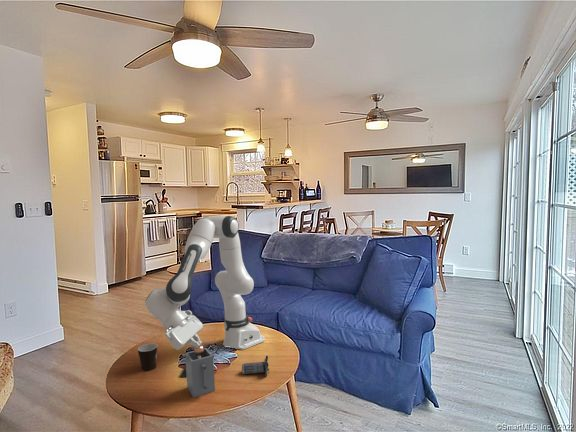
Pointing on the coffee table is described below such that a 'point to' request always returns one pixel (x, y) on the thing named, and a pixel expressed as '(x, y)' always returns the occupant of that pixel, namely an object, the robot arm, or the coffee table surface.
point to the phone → (183, 373)
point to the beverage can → (256, 367)
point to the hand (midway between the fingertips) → (199, 345)
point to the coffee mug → (148, 356)
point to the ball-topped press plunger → (199, 351)
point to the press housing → (200, 373)
